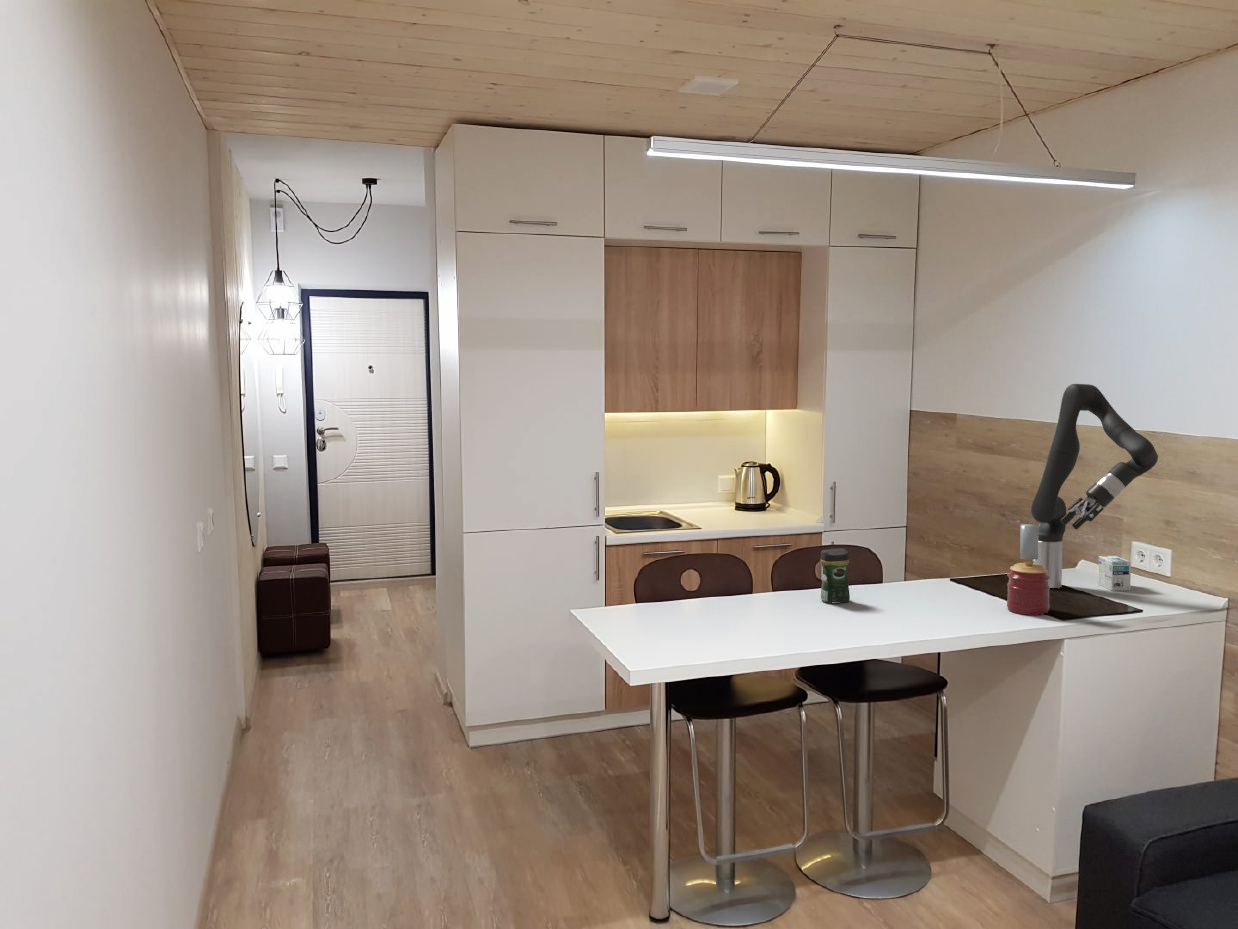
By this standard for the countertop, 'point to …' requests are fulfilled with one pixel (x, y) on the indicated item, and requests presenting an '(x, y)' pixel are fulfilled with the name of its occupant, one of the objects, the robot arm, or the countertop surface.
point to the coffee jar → (835, 575)
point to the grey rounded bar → (1029, 541)
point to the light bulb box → (1114, 573)
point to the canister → (1028, 589)
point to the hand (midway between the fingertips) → (1068, 525)
